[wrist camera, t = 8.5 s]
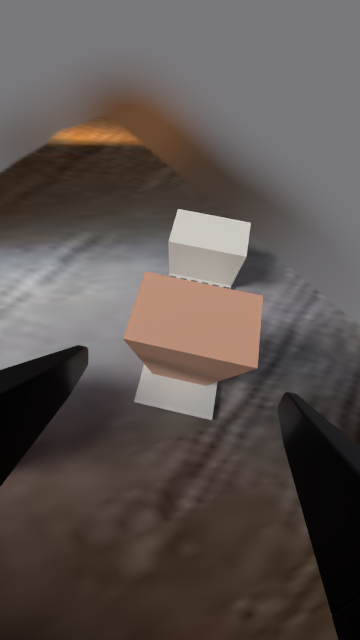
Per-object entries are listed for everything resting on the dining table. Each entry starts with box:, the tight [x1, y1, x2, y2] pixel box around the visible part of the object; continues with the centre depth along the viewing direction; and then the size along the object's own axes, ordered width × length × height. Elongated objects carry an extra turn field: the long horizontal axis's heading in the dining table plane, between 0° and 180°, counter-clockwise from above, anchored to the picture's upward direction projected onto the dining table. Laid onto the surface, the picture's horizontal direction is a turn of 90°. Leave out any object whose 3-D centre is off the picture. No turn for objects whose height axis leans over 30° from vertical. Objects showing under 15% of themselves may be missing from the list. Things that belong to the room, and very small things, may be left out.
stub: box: [123, 272, 263, 386], centre depth 14 cm, size 3×5×12 cm, turn 78°
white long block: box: [134, 209, 251, 420], centre depth 19 cm, size 18×7×6 cm, turn 168°
